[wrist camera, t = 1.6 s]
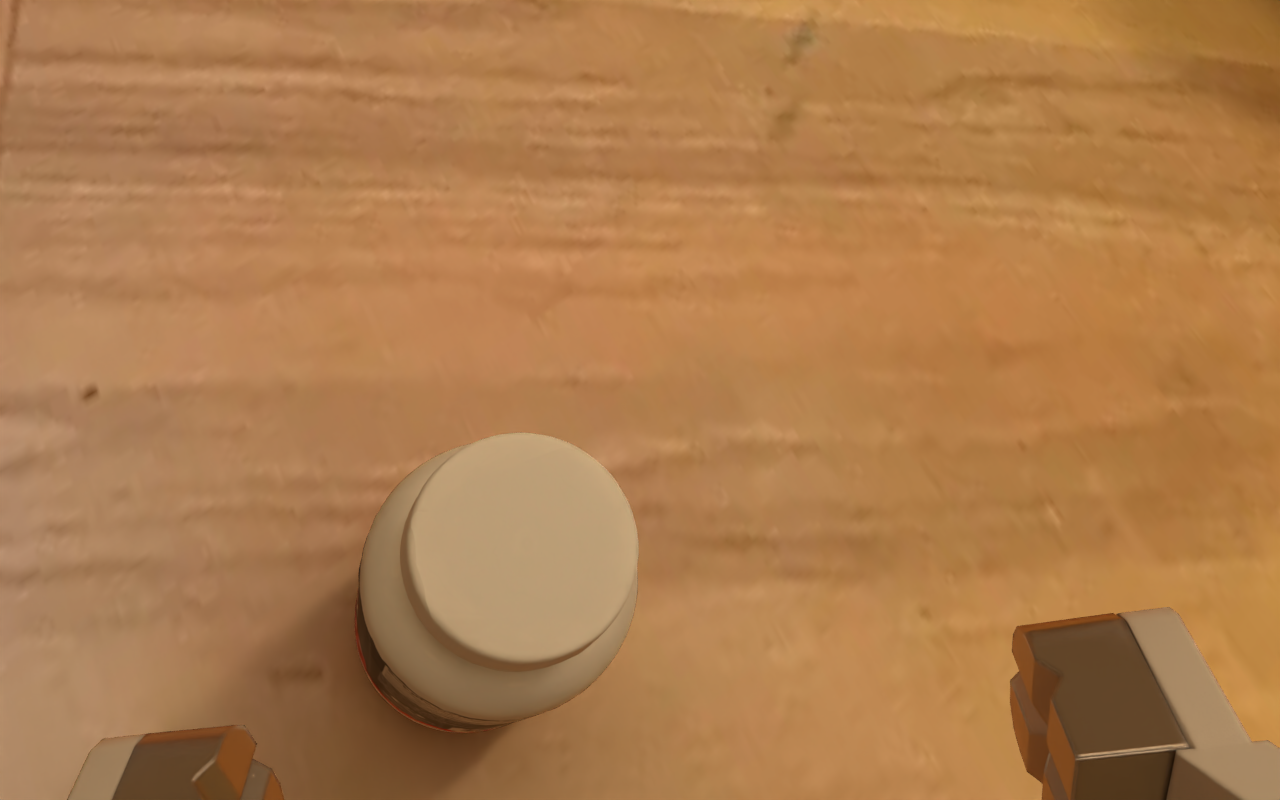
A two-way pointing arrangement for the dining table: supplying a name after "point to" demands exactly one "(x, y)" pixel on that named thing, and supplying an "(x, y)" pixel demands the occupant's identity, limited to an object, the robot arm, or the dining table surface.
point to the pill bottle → (496, 583)
